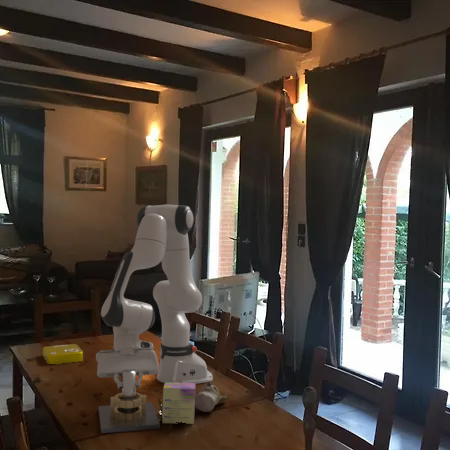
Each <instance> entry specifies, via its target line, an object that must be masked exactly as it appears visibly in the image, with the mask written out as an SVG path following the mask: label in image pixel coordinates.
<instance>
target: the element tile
mask: <svg viewBox="0 0 450 450" xmlns="http://www.w3.org/2000/svg"><path fill="white" fill-rule="evenodd" d="M42 357H44V358H43V360H44V361H45V360H46V361H45V362H46V363H47V365H48V364H56V365H63V364H62V363H65V364H73V363H72V362H74V363H80V362H79V361H81V362H83V360H84V351H83V350H82V349H81V348H80V347H79V345H78V344H76V343H72V344H71V343H69V344H61V345H50V346H44V347H42Z"/></svg>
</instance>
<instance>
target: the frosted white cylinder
mask: <svg viewBox="0 0 450 450" xmlns="http://www.w3.org/2000/svg"><path fill="white" fill-rule="evenodd" d="M121 381H122V385H123V387H122V389H121V393H122V400H123V401H133V400H136V399H135V397H136V392H137V388H136V381H137V376H136V370H134V369H126V370H123V371H122V376H121ZM134 411H135V408H122V412H124V413H132V412H134Z"/></svg>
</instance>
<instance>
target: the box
mask: <svg viewBox="0 0 450 450" xmlns="http://www.w3.org/2000/svg"><path fill="white" fill-rule="evenodd" d="M162 390H163V391H162V414H161V423H162V424H177V423H176V422H179V423H180V422H182V423H186V424H185V425H194V424H195V410H196V409H195V408H196V405H195V398H196V384H195V383H170V382H165V383H163V389H162Z"/></svg>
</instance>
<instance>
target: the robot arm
mask: <svg viewBox="0 0 450 450" xmlns="http://www.w3.org/2000/svg"><path fill="white" fill-rule="evenodd" d="M136 224H137V228H138V229H137V232H136V236H135V240H134V245H133V247H132V248H131V250H130V251H128V252H126V253H125V254H123V257H122V259H121V260H120V262H119V265H118V267H117V270H116V273H115V274H114V278H113V280H112V283H111V286H110V289H109V290H108V294H107V296H106V298H105V300H104V302H103V304H102V306H101V309H100V310H101V311H100V317H101V319H102V321H103V323H105V325H106V326H107V327H112V331H113V335H114V337H113V349H106V350H104V349H101V350H100V351H98V352H97V353H96V355H95V361H96V362H97V369H96V370H97V371H96V375H97V377H98V378H102V379H103V378H113V381H114V382H115V384H116V385H117V389H119V390H120V389H121V390H122V387H123V385H122V380H121V381H120V380H119V377H121V378H122V371H123V370H126V369H134V370H136V377H137V378H138V379H136V389H137V388H141V381H142V380H143V377H144V376H149V375H150V376H151V375H153V376H154V375H156V374H157V376H156V380H157V381H159V382H161V383H163V384H165V382H170V383H195V385H197V384H205V383H211V382H212V381H213V380H214V379H213V374H212V373H211V371H209V370H208V367H207V363H206V361H205V360H204V359H203V358H202V357H200V356H199V355H197V353H196V352H198V350H197V349H198V348H197V346H195V345H194V344H192V343H191V342H190V331H191V329H190V328H191V326H190V322H189V321H188V319H187V317H186V313H187V314H188V313H195V312H197V311H198V310H199V309H200V307H202V306H201V305H202V303H203V295H202V292H201V291H200V289H199V288H198V287H197V285H196V283H195V280H194V277H193V273H192V268H191V260H190V241H189V235H188V232H190V230H191V229H192V228H193V225H194V213H193V210H192V209H191V208H190V206H188V205H184V204H183V205H182V204H179V205H178V204H158V205H146V206H141V208H140V209H139V210H138V212H137V214H136ZM160 263H161V268H162V270H163V272H164V274H165V275H166V279H167V280H160V281H159V282H157V283H156V284H155V286H154V287H153V290H152V296H153V299H154V300H155V303H156V304H157V307H158V309H159V315H160V320H161V321H160V322H161V343H160V347H159V348H160V349H159V357H160V363H159V360H158V356H157V353H156V351H154V344H153V342H149V341H145V340H143V339H142V340H141V339H140V335H143V334H144V333H146V332H147V331H148V330H150V329H151V328H152V327H153V326H154V325H155V321H156V315H155V309H154V308H153V306H152V304H149V303H146V302H143V301H138V300H132V299H128V298H126V297H125V296H124V295H125V292H126V289H127V286H128V283H129V280H130V277H131V275H132V274H133V273H134V272H135V271H138V270H145V269H151V268H153V267H156V266H157V265H160Z"/></svg>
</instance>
